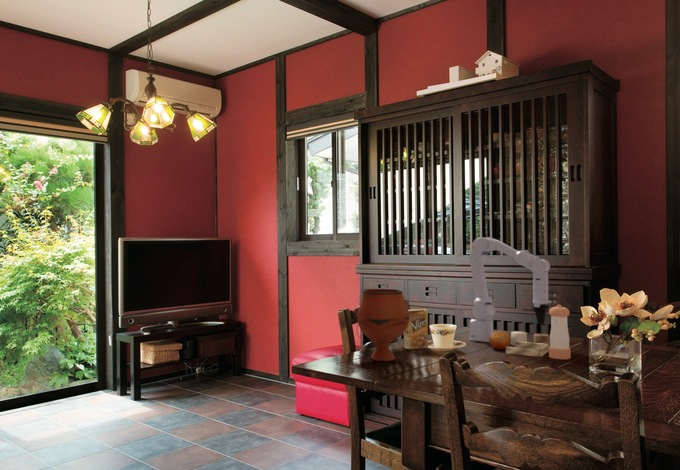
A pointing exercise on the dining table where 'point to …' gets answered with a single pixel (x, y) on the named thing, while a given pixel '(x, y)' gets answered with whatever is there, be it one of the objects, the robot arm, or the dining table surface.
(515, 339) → the white block
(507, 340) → the fruit
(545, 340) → the walnut block
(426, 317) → the candy box
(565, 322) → the salt shaker
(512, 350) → the tray
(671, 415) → the dining table surface
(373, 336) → the goblet
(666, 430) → the dining table surface
